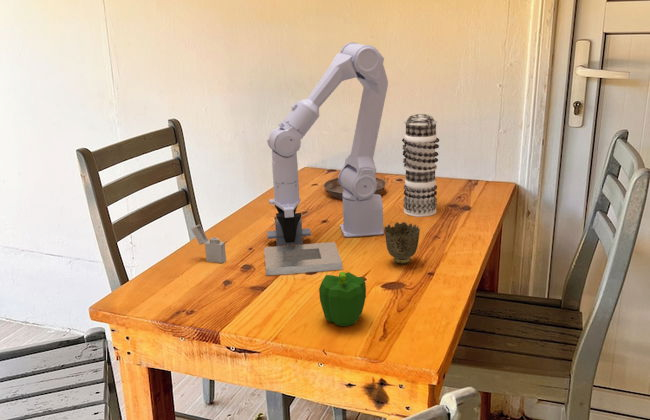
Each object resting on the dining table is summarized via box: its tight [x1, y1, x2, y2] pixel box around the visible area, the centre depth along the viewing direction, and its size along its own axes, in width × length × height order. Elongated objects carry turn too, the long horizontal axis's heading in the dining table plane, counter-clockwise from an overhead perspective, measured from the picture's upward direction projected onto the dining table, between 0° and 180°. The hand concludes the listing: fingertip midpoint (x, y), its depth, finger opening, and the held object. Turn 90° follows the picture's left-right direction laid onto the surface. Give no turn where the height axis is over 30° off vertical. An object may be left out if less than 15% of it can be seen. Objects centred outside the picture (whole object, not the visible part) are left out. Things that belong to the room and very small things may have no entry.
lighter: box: [191, 223, 227, 264], centre depth 149 cm, size 7×2×8 cm, turn 70°
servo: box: [266, 217, 312, 246], centre depth 158 cm, size 10×4×6 cm, turn 96°
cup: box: [383, 221, 421, 266], centre depth 144 cm, size 8×7×8 cm
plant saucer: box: [323, 177, 387, 200], centre depth 193 cm, size 18×18×3 cm
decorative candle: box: [401, 113, 440, 218], centre depth 172 cm, size 9×9×25 cm
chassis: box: [263, 241, 343, 277], centre depth 147 cm, size 16×12×2 cm
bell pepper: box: [318, 270, 367, 327], centre depth 120 cm, size 8×8×10 cm
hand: (289, 236), depth 158 cm, fingers open, 6 cm apart
